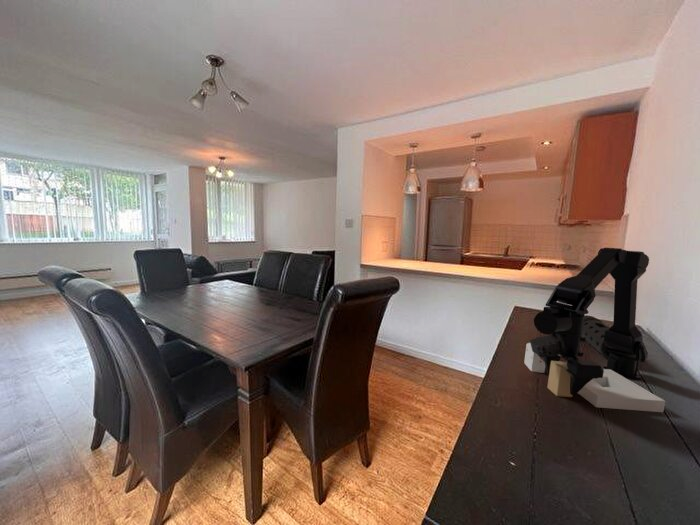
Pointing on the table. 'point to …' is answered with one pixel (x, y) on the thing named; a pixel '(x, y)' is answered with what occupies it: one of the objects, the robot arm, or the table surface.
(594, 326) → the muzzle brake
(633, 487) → the table surface
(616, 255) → the robot arm
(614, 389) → the socket plate
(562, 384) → the plug
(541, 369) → the white angled block
